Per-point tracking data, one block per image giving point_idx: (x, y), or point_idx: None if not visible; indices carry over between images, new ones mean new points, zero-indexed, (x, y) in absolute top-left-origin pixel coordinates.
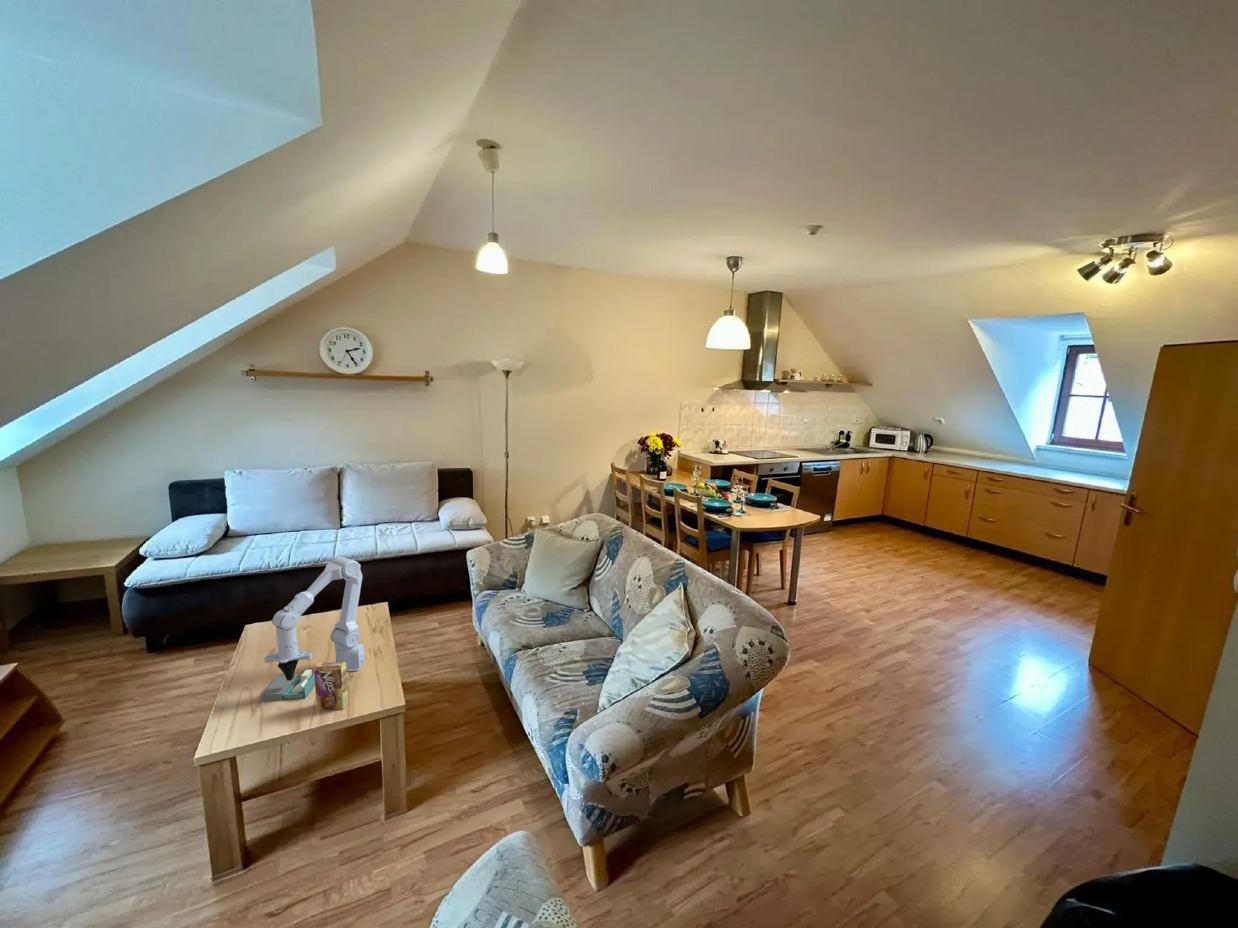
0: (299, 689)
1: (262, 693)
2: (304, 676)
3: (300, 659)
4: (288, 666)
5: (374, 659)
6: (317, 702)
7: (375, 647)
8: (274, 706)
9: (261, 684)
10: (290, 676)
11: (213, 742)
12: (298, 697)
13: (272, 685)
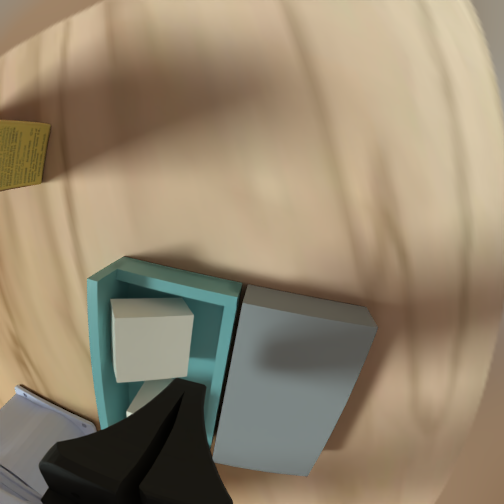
0: (139, 307)
1: (369, 344)
2: None
3: (18, 481)
4: (98, 462)
5: None
6: (19, 121)
7: None
8: (279, 227)
9: (376, 442)
10: (161, 394)
11: (470, 15)
12: (153, 266)
13: (324, 408)
